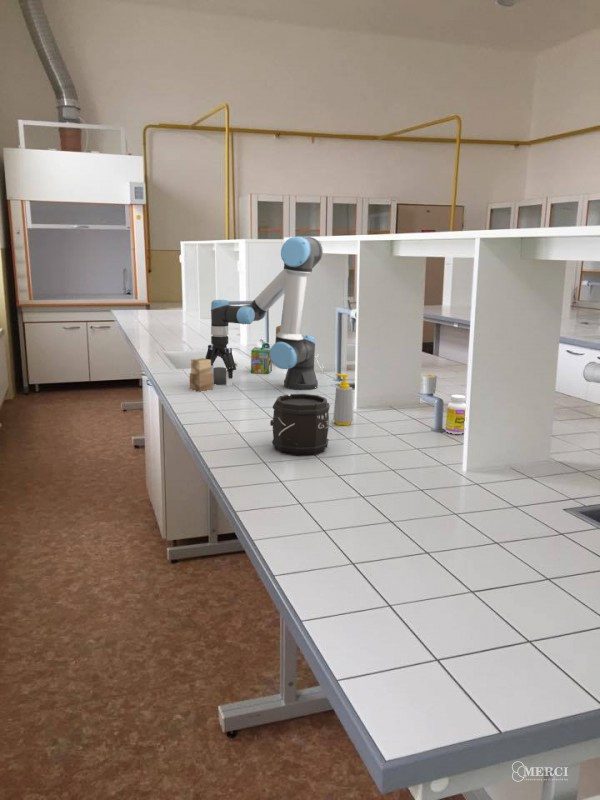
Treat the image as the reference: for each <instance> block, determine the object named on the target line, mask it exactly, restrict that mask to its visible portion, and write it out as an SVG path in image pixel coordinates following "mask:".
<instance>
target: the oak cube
mask: <svg viewBox="0 0 600 800" xmlns="http://www.w3.org/2000/svg"><path fill="white" fill-rule="evenodd" d="M190 373H192V374H196V375H199V376H200V375H207V374H211V360H209V359H205V358H204V357H200V358H191V359H190Z"/></svg>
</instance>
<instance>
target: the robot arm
mask: <svg viewBox="0 0 600 800" xmlns="http://www.w3.org/2000/svg"><path fill="white" fill-rule="evenodd" d="M323 250H324V249H323V246H322V243H320V241H319V240H317V238H315V237H312V236H307V237H306V236H298V235H297V236H292V237H290V238H288V239H286V241H284V243H283V245H282V246H281V249H280V257H281V259H282V261H283V269H282V270H281V271H280V272H279V273H278V274H277V275H276V276H275V277H274V279H273V280H272V281H270V283H269V284H268V285H267V286H266V287H265V288H264V289H263V290H262V291H261V292H260V293H259V294H258V296H256V298H255V299H254V300H253V301H251V303H250V304H245V305H243V304H242V305H231V304H229V300H226V299H213V300H211V303H210V304H211V305H210V306H211V307H210V315H211V317H210V319H211V321H210V323H211V324H210V326H211V327H210V334H211V337H210V338H211V339H210V343H211V344H208V345H207V352H206V354H205V358H204V359H209V360H211V374H213V382H214V368H215V367H214V363H215V362H216V359H217V358H218V357H219V358H221V359H222V361H223V364H224V365H225V368H226V384H225V386H226V387H230V386H233V377H234V374H233V373H234V371H236V370H237V365H236V362H235V359H234V355H233V349H232V347H229V348H228V347H227V346H228V345H229V336H228V335H229V323H231V324H241V325H251V324H252V323H253V322H259V321H260V320H263V319H264V318H265V317H266V315H267V312H268V311H269V310H270V309H271V308H272V306H274V305H275V304H276V302H278V300H279V299H280V298H282V296H283V303H282V311H281V312H282V314H281V321H280V325H281V328H280V332H279V333H277V334H276V333H275V343H274V344H273V345H272V346H271V347H270V348H271V349H270V358H271V361H272V364H273V365H274V366H275V367H276V368H278V369H281V370H287V371H286V374H285V377H284V380H283V387H284V388H285V389H288V390H297V389H299V390H302V389H308V390H312V389H311V388H315V387H317V386H318V384H319V383H318V382H319V381H318V379H317V374H315V373H316V372H315V371H316V370H315V364H314V363H315V361H316V358H315V357H316V337H314V336H312V335H307V334H306V335H305V334H302V324H303V317H304V316H303V315H304V310H305V309H304V308H305V301H306V300H305V299H306V294H307V293H306V291H307V285H308V284H307V283H308V276H309V275H311V274H312V272H313V269H314V267H316V266H317V264H318V263H320V261H321V260H322V257H323V253H324V252H323ZM317 388H318V387H317ZM315 389H316V388H315Z"/></svg>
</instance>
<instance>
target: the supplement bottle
mask: <svg viewBox="0 0 600 800" xmlns="http://www.w3.org/2000/svg"><path fill="white" fill-rule="evenodd" d="M450 400H451V401H450V402H449V403H448V404H447V408H446V418H445V420H446V421H445V432H446V433H447V432H448V433H447V434H450V433H452V434H451V435H455V434H460V435H463V434H462V433H463V432H464V421H465V408H466V405H467V404H466V403H465V401H466V396H465V395H464V394H463V395H462V394H452V395H450Z"/></svg>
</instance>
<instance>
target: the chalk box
mask: <svg viewBox="0 0 600 800" xmlns="http://www.w3.org/2000/svg"><path fill="white" fill-rule="evenodd" d="M265 343H266V342H265V341H264V342H263V343H262V345H261V347H259V346H258V347H254V348H252V349H251V353H250V356H251V361H250V363H251V364H250V373H251V374H259V373H260V374H261V375H270V373H271V372H272V371H273V362H272V361H271V358H270V349H271V347H265V345H266V344H265Z"/></svg>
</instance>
